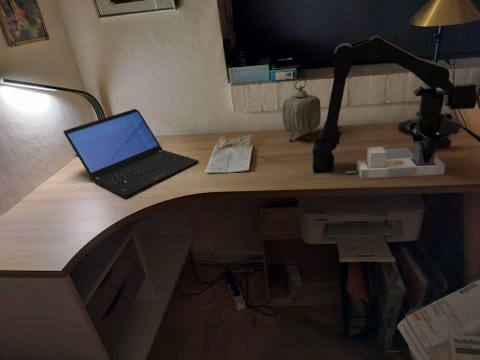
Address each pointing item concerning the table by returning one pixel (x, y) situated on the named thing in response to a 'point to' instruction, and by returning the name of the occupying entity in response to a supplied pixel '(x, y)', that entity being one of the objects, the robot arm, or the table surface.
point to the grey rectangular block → (419, 158)
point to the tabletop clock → (301, 112)
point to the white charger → (376, 157)
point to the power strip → (398, 169)
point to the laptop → (124, 153)
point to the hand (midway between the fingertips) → (423, 159)
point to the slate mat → (398, 153)
